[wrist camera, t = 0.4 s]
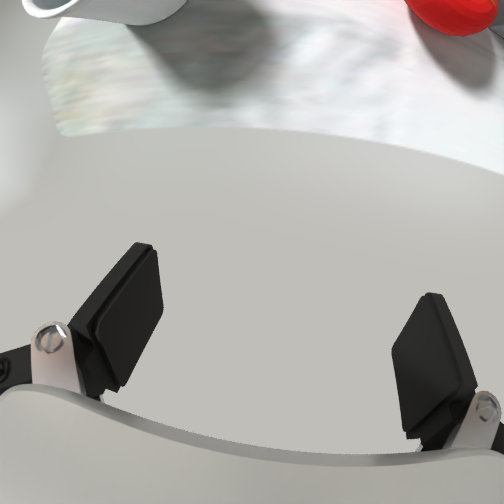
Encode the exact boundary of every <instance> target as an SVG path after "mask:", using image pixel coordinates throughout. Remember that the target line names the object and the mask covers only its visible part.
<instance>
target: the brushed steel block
mask: <svg viewBox="0 0 504 504" xmlns="http://www.w3.org/2000/svg"><path fill="white" fill-rule="evenodd" d="M497 2H498V7H497V14H496V17H495V19H494V20H493V22H492V24H491V25H489V26H488V28H489V29H491V30H492V31H494V32H495V33H497V34H498V35H499V36H501V37H502V38H504V0H497Z"/></svg>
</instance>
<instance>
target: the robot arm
mask: <svg viewBox="0 0 504 504" xmlns="http://www.w3.org/2000/svg"><path fill="white" fill-rule="evenodd" d="M163 308H164V307H163V299H162V291H161V285H160V275H159V266H158V257H157V251H156V250H153V247H152V245H149V244H143V243H138V242H136V243H134V244H133V245H132V246H131V248H130V249H129V250H128V251H127V252H126V253H125V255H124V256H123V257H122V258H121V259H120V260H119V261H118V262H117V264H116V265H115V266H114V267H113V268H112V269H111V271H110V272H109V273H108V274H107V275H106V277H105V278H104V279H103V280H102V281H101V283H100V284H99V285H98V286H97V287H96V289H95V290H94V291H93V292H92V294H91V295H90V296H89V297H88V299H87V300H86V301H85V302H84V304H83V305H82V306H81V307H80V309H79V310H78V311H77V313H76V314H75V315H74V316H73V318H72V319H71V321H70V322H69V324H68V325H65V324H63V323H61V322H56V321H55V322H49V323H46V324H44V325H42V326H41V327H39V328H38V329H37V330H36V331H35V332H34V335H33V336H32V339H31V344H29V345H26V346H23V347H20V348H17V349H14V350H10V351H7V352H3V353H0V504H504V424H503V423H501V422H500V419H501V407H500V404H499V402H498V400H497V398H496V397H495V396H494V395H493V394H491V393H489V392H488V391H479V392H478V393H475V389H476V388H477V387H478V385H477V381H476V378H475V375H474V372H473V369H472V366H471V363H470V360H469V358H468V355H467V352H466V349H465V347H464V344H463V341H462V339H461V336H460V334H459V331H458V329H457V326H456V324H455V322H454V319H453V317H452V315H451V312H450V310H449V308H448V306H447V303H446V301H445V299H444V297H443V295H441V294H437V293H426V294H425V296H422V297H421V298H420V300H419V301H418V303H417V305H416V307H415V309H414V311H413V312H412V314H411V316H410V318H409V319H408V321H407V323H406V325H405V326H404V328H403V330H402V332H401V333H400V335H399V336H398V338H397V340H396V341H395V343H394V345H393V347H392V359H393V365H394V370H395V377H396V383H397V389H398V396H399V403H400V411H401V420H402V428H403V431H405V432H406V437H407V439H418V438H420V440H421V444H420V445H419V447H418V448H417V450H416V451H415V452H411V453H398V454H397V453H396V454H370V455H368V454H366V455H358V454H357V455H354V454H352V455H351V454H325V453H310V452H299V451H289V450H280V449H273V448H266V447H259V446H253V445H247V444H242V443H236V442H231V441H226V440H222V439H217V438H213V437H208V436H204V435H200V434H196V433H192V432H188V431H185V430H181V429H177V428H174V427H171V426H167V425H164V424H161V423H158V422H155V421H151V420H149V419H146V418H143V417H140V416H137V415H133V414H131V413H128V412H125V411H122V410H120V409H117V408H114V407H112V406H109V405H107V404H105V403H104V400H103V396H102V394H103V393H104V391H105V389H108V390H111V391H114V392H116V393H117V392H118V390H119V388H120V386H122V387H123V386H125V384H126V383H127V381H128V379H129V377H130V375H131V373H132V371H133V369H134V367H135V366H136V363H137V362H138V360H139V358H140V356H141V354H142V352H143V350H144V348H145V346H146V344H147V342H148V340H149V339H150V337H151V335H152V333H153V331H154V329H155V327H156V325H157V323H158V321H159V320H160V318H161V316H162V314H163Z"/></svg>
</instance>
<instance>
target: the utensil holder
mask: <svg viewBox="0 0 504 504" xmlns="http://www.w3.org/2000/svg"><path fill="white" fill-rule="evenodd" d="M186 2H187V0H22V3H23V6H24V8H25V10H26V11H27V12H28V13H29V14H30V15H31V16H33V17H36V18H43V19H50V18H57V17H74V18H85V19H94V20H102V21H108V22H115V23H122V24H129V25H138V26H140V25H149V24H153V23H156V22H159V21H161V20H163V19H165V18H167V17H169V16H171V15H172V14H173V13H175V12H176V11H177V10H179V9H180V8H181V7H182V6H183V5H184V4H185V3H186Z"/></svg>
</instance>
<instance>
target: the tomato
mask: <svg viewBox="0 0 504 504" xmlns="http://www.w3.org/2000/svg"><path fill="white" fill-rule="evenodd" d="M404 1H405V2H406V4H407V5H408V6H409V8H410V9H411V10H412V11H413V12H414V13H415V14H416V15H417V16H418V17H419V18H420V19H421V20H422V21H423V22H424V23H426V24H427V25H429V26H430V27H432V28H434V29H436V30H438V31H440V32H442V33H445V34H448V35H454V36H466V35H470V34H474V33H477V32H479V31H482V30H483V29H485V28H487V27H488V26H489V25H491V24H492V22H493V20H494V19H495V17H496V14H497V7H498V2H497V0H404Z"/></svg>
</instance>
